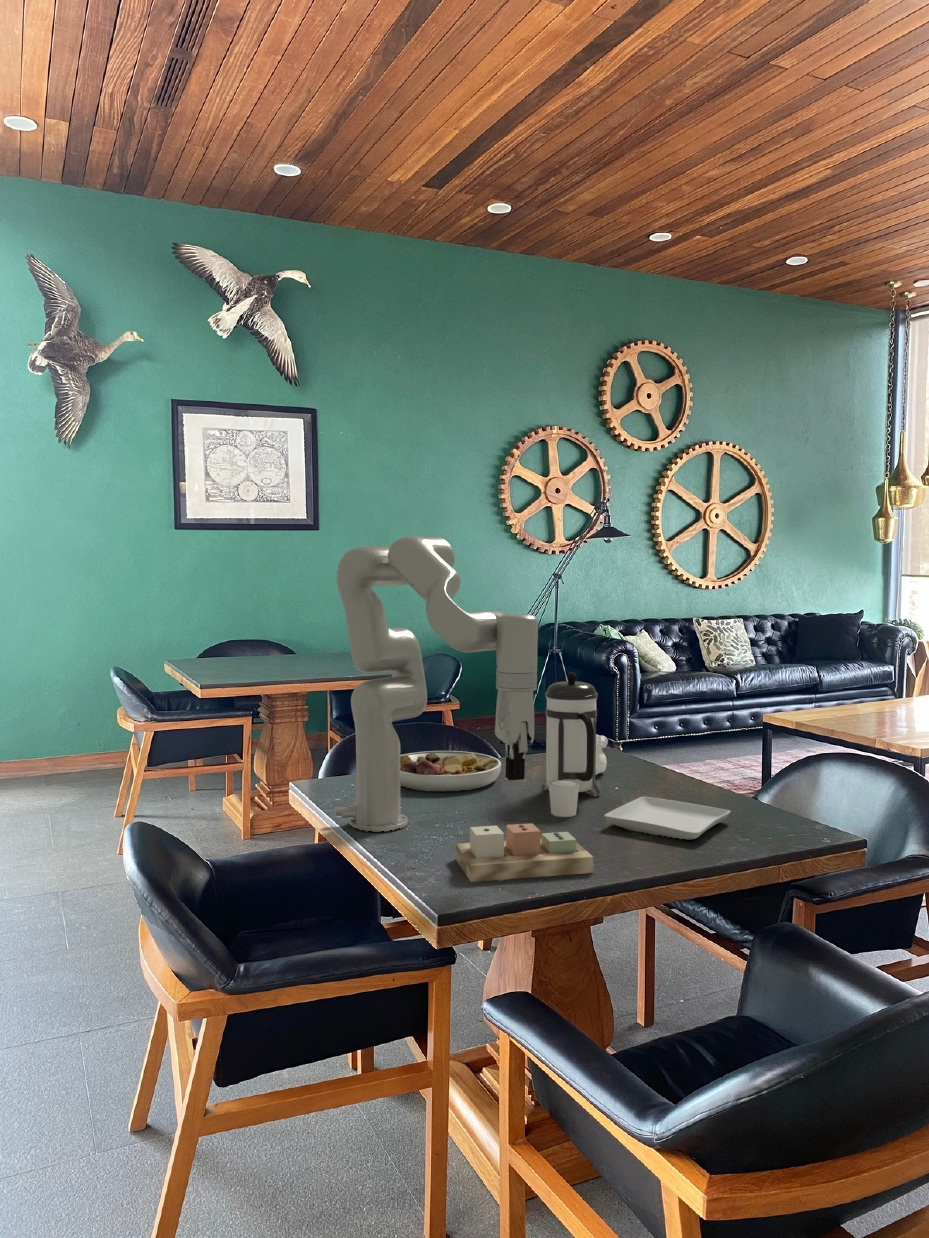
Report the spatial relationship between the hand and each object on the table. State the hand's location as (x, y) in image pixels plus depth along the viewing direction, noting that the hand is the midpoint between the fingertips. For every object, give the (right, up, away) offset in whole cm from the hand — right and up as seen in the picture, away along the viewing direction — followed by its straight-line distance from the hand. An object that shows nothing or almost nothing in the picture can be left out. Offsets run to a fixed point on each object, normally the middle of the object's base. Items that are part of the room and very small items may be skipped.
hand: (515, 778), depth 174 cm
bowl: (-15, -13, +69) cm, 72 cm away
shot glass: (+13, -15, +37) cm, 42 cm away
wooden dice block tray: (+2, -17, +1) cm, 17 cm away
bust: (+26, -12, +78) cm, 83 cm away
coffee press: (+17, -13, +55) cm, 59 cm away
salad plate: (+35, -16, +28) cm, 47 cm away
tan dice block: (+2, -14, +1) cm, 15 cm away
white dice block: (-5, -14, 0) cm, 15 cm away
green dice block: (+8, -16, +3) cm, 19 cm away
